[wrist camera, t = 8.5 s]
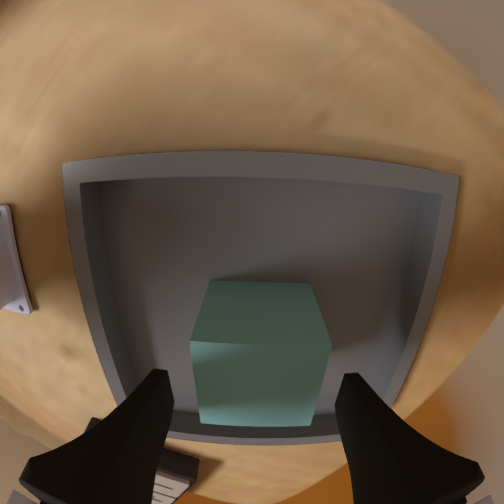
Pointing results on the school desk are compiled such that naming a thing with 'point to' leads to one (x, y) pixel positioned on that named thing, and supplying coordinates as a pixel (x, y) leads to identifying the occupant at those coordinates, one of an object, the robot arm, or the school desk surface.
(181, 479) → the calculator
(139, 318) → the charcoal tray
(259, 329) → the teal cube
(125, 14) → the school desk surface
